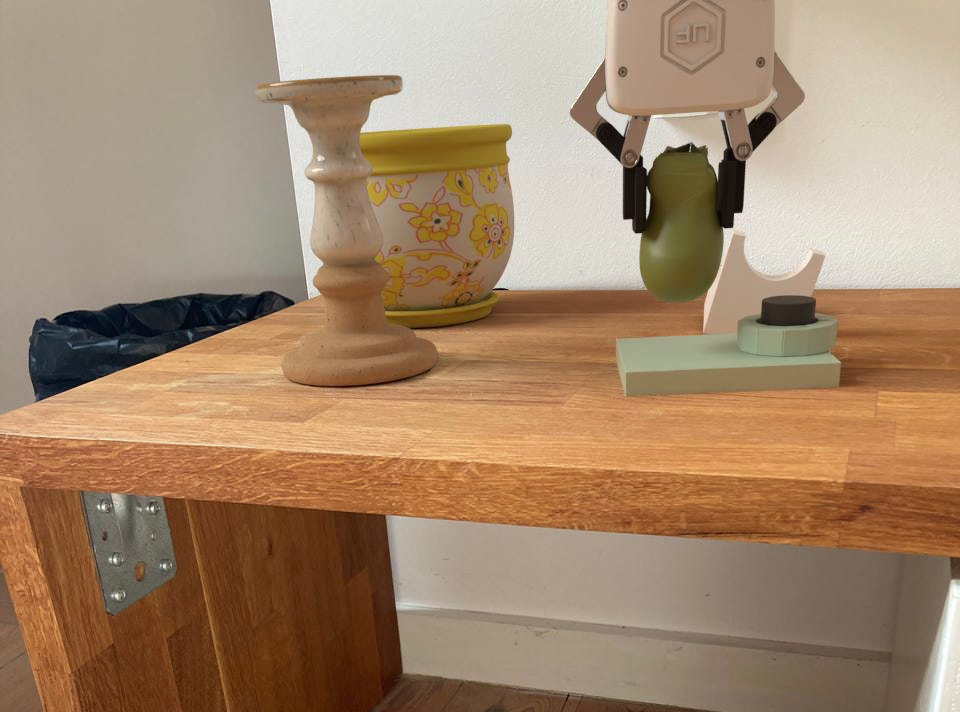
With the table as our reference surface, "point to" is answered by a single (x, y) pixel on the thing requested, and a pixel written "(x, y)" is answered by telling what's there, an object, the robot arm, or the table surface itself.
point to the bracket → (752, 287)
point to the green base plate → (732, 359)
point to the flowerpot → (441, 220)
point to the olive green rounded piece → (681, 226)
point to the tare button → (788, 310)
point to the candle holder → (346, 240)
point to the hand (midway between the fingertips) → (681, 225)
